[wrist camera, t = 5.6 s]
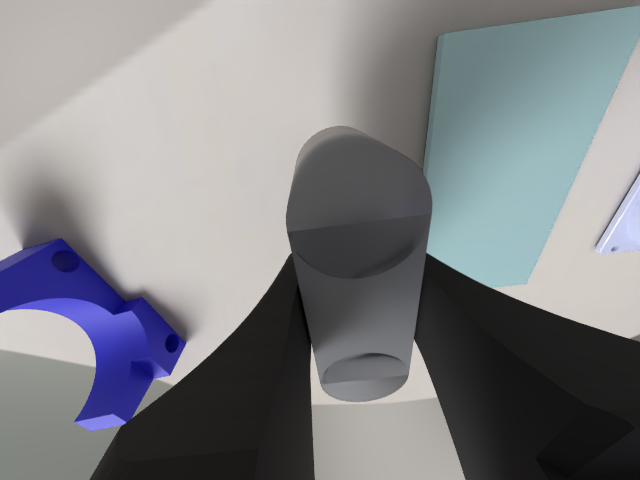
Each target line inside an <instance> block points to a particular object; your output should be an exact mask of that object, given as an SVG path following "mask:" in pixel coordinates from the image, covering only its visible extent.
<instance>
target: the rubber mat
mask: <svg viewBox="0 0 640 480" xmlns="http://www.w3.org/2000/svg"><path fill="white" fill-rule="evenodd" d="M639 36H640V6H633V7H626V8H618V9H611V10H604V11H597V12H590V13H583V14H576V15H569V16H562V17H555V18H548V19H541V20H534V21H527V22H520V23H513V24H506V25H499V26H492V27H485V28H478V29H471V30H463V31H456V32H449V33H444V34H442V35H440V36H438V41H437V50H436V59H435V68H434V77H433V86H432V95H431V104H430V113H429V122H428V130H427V139H426V148H425V157H424V166H423V174H424V176H425V177H426V179H427V181H428V184H429V186H430V190H431V194H432V204H433V206H432V217H431V224H430V231H429V237H428V244H427V251H426V253H428V254H430V255H431V256H433V257H435V258H436V259H438V260H440V261H441V262H443V263H445V264H446V265H448V266H450V267H451V268H453V269H455V270H457V271H459V272H460V273H462V274H464V275H466V276H468V277H470V278H472V279H474V280H476V281H478V282H480V283H482V284H484V285H486V286H488V287H490V288H495V287H503V286H512V285H520V284H527V282H528V280H529V278H530V276H531V273H532V271H533V269H534V267H535V265H536V262H537V260H538V258H539V256H540V254H541V251H542V249H543V247H544V245H545V243H546V240H547V238H548V236H549V234H550V232H551V229H552V227H553V225H554V223H555V221H556V218H557V216H558V214H559V212H560V210H561V207H562V205H563V203H564V201H565V199H566V196H567V194H568V192H569V190H570V188H571V185H572V183H573V181H574V179H575V177H576V174H577V172H578V170H579V168H580V166H581V164H582V161H583V159H584V157H585V155H586V153H587V150H588V148H589V146H590V144H591V142H592V139H593V137H594V135H595V133H596V131H597V128H598V126H599V124H600V122H601V120H602V117H603V115H604V113H605V111H606V109H607V106H608V104H609V102H610V100H611V98H612V95H613V93H614V91H615V89H616V87H617V84H618V82H619V80H620V78H621V76H622V73H623V71H624V69H625V67H626V65H627V62H628V60H629V58H630V56H631V54H632V51H633V49H634V47H635V45H636V43H637V40H638V38H639Z"/></svg>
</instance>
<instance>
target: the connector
mask: <svg viewBox="0 0 640 480" xmlns="http://www.w3.org/2000/svg"><path fill="white" fill-rule="evenodd" d="M432 206H433V204H432V194H431V190H430V186H429V184H428V181H427V179H426V177H425V176H424V174H423V172H422V171H421V170H420V169H419V167H418V166H417V165H416V164H415V163H414V162H413V161H411V160H410V159H409V158H408V157H406V156H404V155H403V154H401V153H399V152H398V151H396V150H394V149H392V148H390V147H388V146H386V145H385V144H383V143H381V142H379V141H377V140H375V139H374V138H372V137H370V136H368V135H366V134H364V133H362V132H361V131H359V130H356V129H354V128H350V127H345V126H334V127H330V128H326V129H324V130H321V131H320V132H318V133H316V134H315V135H313V136H312V137H311V138H310V139H309V140H308V141H307V142H306V143H305V144H304V146H303V147H302V149H301V151H300V153H299V155H298V158H297V161H296V166H295V171H294V176H293V181H292V186H291V191H290V196H289V201H288V206H287V212H286V226H287V233H288V237H289V242H290V247H291V251H292V256H293V260H294V265H295V269H296V274H297V279H298V283H299V288H300V292H301V297H302V301H303V306H304V311H305V315H306V320H307V324H308V329H309V334H310V338H311V343H312V347H313V352H314V356H315V361H316V366H317V370H318V375H319V379H320V384H321V387H322V389H323V390H324V391H325V393H327V394H328V395H329V396H331V397H333V398H336V399H339V400H343V401H349V402H365V401H371V400H376V399H380V398H383V397H386V396H388V395H390V394H392V393H394V392H395V391H397V390H398V389H400V388H401V387H402V386H403V385H404V384H405V382H406V381H407V379H408V375H409V368H410V362H411V355H412V348H413V341H414V334H415V327H416V320H417V313H418V306H419V299H420V293H421V286H422V279H423V272H424V265H425V258H426V251H427V244H428V237H429V231H430V224H431V217H432Z"/></svg>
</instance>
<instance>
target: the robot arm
mask: <svg viewBox="0 0 640 480" xmlns="http://www.w3.org/2000/svg"><path fill="white" fill-rule="evenodd" d="M638 250H640V174H639V176H638V177H637V179H636V181H635V182H634V184H633V186H632V187H631V189H630V191H629V192H628V194H627V196H626V197H625V199H624V201H623V202H622V204H621V206H620V207H619V209H618V211H617V213H616V214H615V216H614V218H613V219H612V221H611V223H610V224H609V226H608V228H607V229H606V231H605V233H604V234H603V236H602V238H601V239H600V241H599V243H598V244H597V246H596V248H595V251H596V252H597V253H599V254H601V255H605V254H613V253H621V252H630V251H638ZM414 340H415V342H416V344H417V346H418V348H419V350H420V352H421V355H422V357H423V359H424V362H425V364H426V367H427V369H428V372H429V375H430V377H431V380H432V383H433V385H434V388H435V391H436V394H437V396H438V399H439V402H440V405H441V408H442V410H443V413H444V416H445V419H446V422H447V425H448V427H449V431H450V433H451V436H452V439H453V442H454V445H455V448H456V451H457V454H458V457H459V460H460V463H461V467H462V470H463V473H464V476H465V479H466V480H640V342H639V341H635V340H632V339H628V338H625V337H622V336H618V335H615V334H612V333H609V332H606V331H603V330H600V329H597V328H594V327H591V326H588V325H584V324H581V323H578V322H576V321H573V320H570V319H567V318H564V317H561V316H558V315H556V314H553V313H550V312H548V311H545V310H543V309H540V308H537V307H535V306H532V305H530V304H527V303H524V302H522V301H520V300H517V299H515V298H512V297H510V296H508V295H506V294H503V293H501V292H499V291H497V290H494V289H492V288H490V287H488V286H486V285H484V284H482V283H480V282H478V281H476V280H474V279H472V278H470V277H468V276H466V275H464V274H462V273H460V272H459V271H457V270H455V269H453V268H451V267H450V266H448V265H446V264H445V263H443V262H441V261H440V260H438V259H436V258H435V257H433V256H431V255H430V254H428V253H426V258H425V265H424V272H423V279H422V286H421V293H420V299H419V306H418V313H417V320H416V327H415V334H414ZM310 361H311V338H310V334H309V329H308V324H307V320H306V315H305V311H304V306H303V301H302V297H301V292H300V288H299V283H298V279H297V274H296V269H295V265H294V260H293V256H292V253H291V254H290V255H289V257H288V258H287V260H286V262H285V264H284V266H283V267H282V269H281V271H280V272H279V274H278V275H277V277H276V279H275V280H274V282H273V283H272V285H271V286H270V288H269V289H268V291H267V292H266V293H265V295H264V296H263V297H262V299H261V300H260V301H259V303H258V304H257V305H256V307H255V308H254V309H253V310H252V312H251V313H250V314H249V315H248V316H247V318H246V319H245V320H244V321H243V322H242V323H241V324H240V325H239V327H238V328H237V329H236V330H235V331H234V332H233V333H232V334H231V335H230V336H229V337H228V338H227V339H226V340H225V341H224V342H223V343H222V344H221V345H220V346H219V347H218V348H217V349H216V350H215V351H214V352H213V353H212V354H211V355H209V356H208V357H207V358H206V359H205V360H204V361H203V362H202V363H200V364H199V365H198V366H197V367H196V368H195V369H194V370H192V371H191V372H190V373H189V374H188V375H187V376H185V377H184V378H183V379H182V380H181V381H179V382H178V383H177V384H176V385H175V386H173V387H172V388H171V389H170V390H168V391H167V392H166V393H164V394H163V395H162V396H161V397H159V398H158V399H157V400H155V401H154V402H153V403H151V404H150V405H149V406H148V407H146V408H145V409H144V410H143V411H141V412H140V413H139V414H137V415H136V416H135V417H133V418H132V419H131V420H129V421H128V422H126V423H125V424H124V425H122V426H121V427H120V429H119V431H118V432H117V434H116V436H115V437H114V439H113V441H112V442H111V444H110V446H109V447H108V449H107V451H106V452H105V454H104V456H103V458H102V459H101V461H100V463H99V465H98V466H97V468H96V470H95V471H94V473H93V475H92V477H91V478H90V480H315V477H314V457H313V436H312V410H311V382H310Z"/></svg>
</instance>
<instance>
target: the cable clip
mask: <svg viewBox="0 0 640 480" xmlns="http://www.w3.org/2000/svg"><path fill="white" fill-rule="evenodd" d="M15 309H36V310H44V311H49V312H53V313H57V314H60V315H62V316H65V317H67V318H69V319H70V320H72V321H74V322H75V323H77V324H78V325H79V326H80V327H81V328H82V329H83V330H84V331H85V332H86V333H87V335H88V336H89V338H90V340H91V342H92V344H93V347H94V350H95V355H96V374H95V379H94V383H93V387H92V390H91V392H90V395H89V397H88V400H87V401H86V404H85V406H84V407H83V409H82V411H81V412H80V414H79V415H78V417H77V418H76V420H75V421H74V422H75V423H77V424H78V425H80V426H82V427H84V428H86V429H88V430H90V431H94V430H99V429H104V428H109V427H114V426H119V425H124V424H125V423H126V422H128V421H129V420H131V418H132V416H133V415H134V413H135V411H136V409H137V408H138V406H139V404H140V402H141V400H142V398H143V397H144V395H145V393H146V391H147V390H148V388H149V386H150V384H151V382H152V381H153V379H156V378H160V377H165V376H170V375H171V373H172V371H173V369H174V367H175V365H176V363H177V361H178V359H179V357H180V355H181V353H182V351H183V349H184V347H185V345H186V343H185V342H184V341H183V340H182V339H181V338H180V337H179V335H178V334H177V333H176V332H175V331H174V330H173V329H172V328H171V327H170V326H169V325H168V324H167V323H166V322H165V321H164V320H163V318H162V317H161V316H160V315H159V314H158V313H157V312H156V311H155V310H154V309H153V308H152V307H151V306H150V305H149V304H148V303H147V301H146V300H145V299H144V298H143V297H142V298H138V299H134V300H130V301H127V302H125V301H124V300H123V299H122V298H121V297H120V296H119V295H118V294H117V293H116V292H115V291H114V290H113V289H112V288H111V287H110V286H109V285H108V284H107V283H106V282H105V281H104V280H103V279H102V278H101V277H100V276H99V275H98V274H97V273H96V272H95V271H94V270H93V269H92V268H91V267H90V266H89V265H88V264H87V263H86V262H85V261H84V260H83V259H82V258H81V257H80V256H79V255H78V254H77V253H76V252H75V251H74V250H73V249H72V248H71V247H70V246H69V245H68V244H67V243H66V242H65V241H64V240H63V239H62V238H60V239H57V240H54V241H50V242H47V243H43V244H40V245H37V246H33V247H30V248H27V249H23V250H21V251H19V252H17V253H15V254H13V255H11V256H9V257H8V258H6V259H4V260H2V261H0V313H1V312H4V311H6V310H15Z"/></svg>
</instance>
